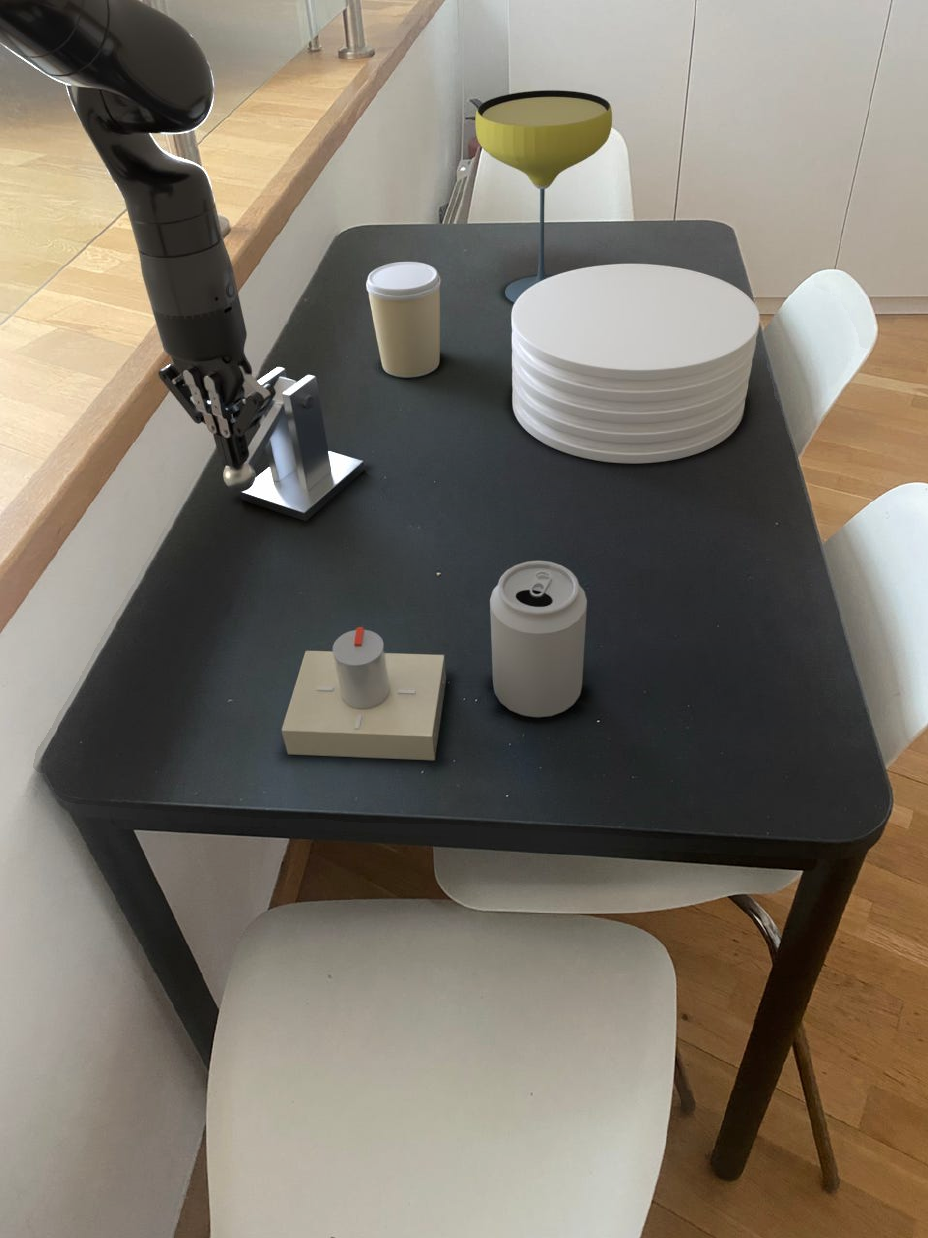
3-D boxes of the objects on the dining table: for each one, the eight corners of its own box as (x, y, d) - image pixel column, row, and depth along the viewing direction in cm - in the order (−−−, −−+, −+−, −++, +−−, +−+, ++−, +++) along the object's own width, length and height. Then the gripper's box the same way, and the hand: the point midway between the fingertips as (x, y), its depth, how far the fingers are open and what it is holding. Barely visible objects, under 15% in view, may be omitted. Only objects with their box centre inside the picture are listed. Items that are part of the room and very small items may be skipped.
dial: (387, 708, 73) (380, 662, 70) (338, 709, 74) (328, 662, 70) (391, 672, 76) (385, 626, 73) (344, 673, 76) (335, 626, 73)
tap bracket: (306, 521, 98) (284, 415, 89) (241, 499, 101) (214, 395, 93) (364, 469, 104) (350, 366, 96) (302, 451, 108) (282, 349, 99)
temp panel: (287, 754, 74) (280, 729, 72) (311, 674, 81) (305, 648, 79) (434, 760, 73) (432, 735, 71) (446, 679, 80) (444, 653, 78)
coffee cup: (449, 347, 126) (444, 260, 118) (441, 381, 119) (435, 290, 111) (382, 347, 127) (372, 260, 119) (370, 380, 120) (359, 290, 112)
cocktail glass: (457, 290, 140) (447, 107, 123) (548, 258, 147) (551, 82, 130) (533, 330, 129) (534, 135, 112) (627, 293, 136) (642, 106, 119)
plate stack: (656, 493, 99) (668, 396, 91) (465, 410, 113) (461, 321, 105) (786, 391, 113) (805, 301, 105) (602, 329, 128) (607, 246, 120)
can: (480, 710, 77) (474, 603, 69) (510, 651, 82) (509, 545, 74) (566, 734, 75) (571, 626, 66) (592, 671, 80) (599, 564, 71)
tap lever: (251, 501, 93) (236, 484, 90) (227, 493, 95) (211, 476, 92) (311, 397, 97) (298, 379, 94) (287, 391, 98) (274, 372, 95)
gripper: (107, 297, 80) (161, 465, 92) (222, 325, 75) (263, 499, 87) (167, 266, 85) (211, 429, 97) (280, 290, 80) (311, 460, 91)
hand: (236, 462), depth 92 cm, fingers closed
